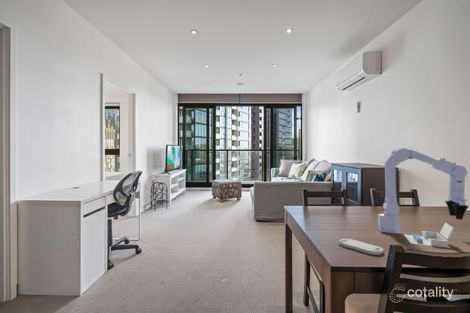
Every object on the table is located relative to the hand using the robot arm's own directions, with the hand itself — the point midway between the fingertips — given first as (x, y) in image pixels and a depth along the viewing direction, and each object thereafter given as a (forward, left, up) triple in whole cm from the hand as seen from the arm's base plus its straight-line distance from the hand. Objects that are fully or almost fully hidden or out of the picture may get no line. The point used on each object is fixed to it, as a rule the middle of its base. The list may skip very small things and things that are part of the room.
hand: (455, 217), depth 133 cm
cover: (-8, -13, -4) cm, 16 cm away
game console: (-45, -33, -11) cm, 57 cm away
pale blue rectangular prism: (-19, -14, -10) cm, 25 cm away
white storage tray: (-15, -12, -10) cm, 22 cm away
